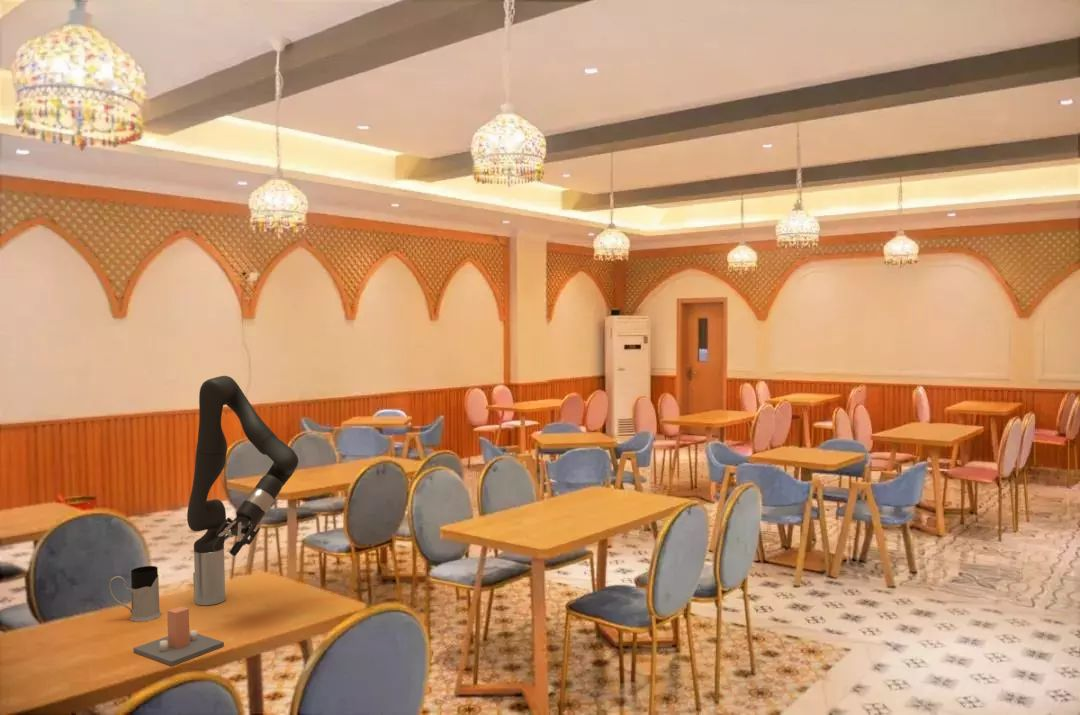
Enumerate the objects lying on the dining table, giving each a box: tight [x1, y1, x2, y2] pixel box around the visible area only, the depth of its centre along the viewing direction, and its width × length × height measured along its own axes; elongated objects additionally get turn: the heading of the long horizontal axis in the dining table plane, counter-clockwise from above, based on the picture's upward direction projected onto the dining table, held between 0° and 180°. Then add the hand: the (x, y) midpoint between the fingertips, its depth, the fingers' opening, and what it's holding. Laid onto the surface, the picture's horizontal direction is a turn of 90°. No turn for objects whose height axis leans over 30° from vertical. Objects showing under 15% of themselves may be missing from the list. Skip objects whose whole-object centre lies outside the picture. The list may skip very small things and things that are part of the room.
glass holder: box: [109, 565, 162, 623], centre depth 257 cm, size 9×14×15 cm, turn 112°
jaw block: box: [166, 606, 190, 649], centre depth 231 cm, size 4×4×10 cm
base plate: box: [132, 629, 225, 667], centre depth 231 cm, size 18×16×4 cm
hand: (223, 552), depth 245 cm, fingers open, 8 cm apart
